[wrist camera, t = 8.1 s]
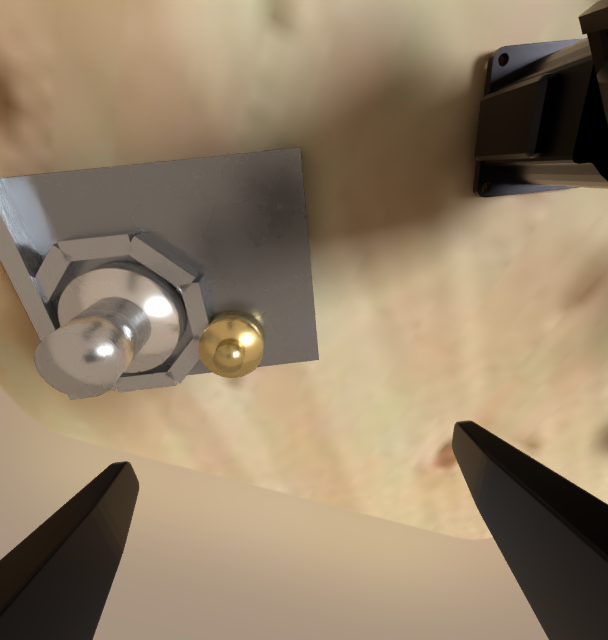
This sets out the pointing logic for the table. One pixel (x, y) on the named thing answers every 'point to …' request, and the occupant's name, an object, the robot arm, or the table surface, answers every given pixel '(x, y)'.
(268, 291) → the plate
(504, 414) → the table surface
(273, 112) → the table surface
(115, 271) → the silver metal knob
